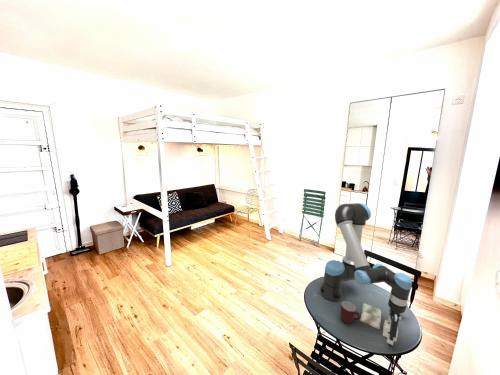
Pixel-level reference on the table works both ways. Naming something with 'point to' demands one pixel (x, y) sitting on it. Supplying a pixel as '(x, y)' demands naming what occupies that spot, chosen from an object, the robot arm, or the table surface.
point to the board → (371, 316)
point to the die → (388, 329)
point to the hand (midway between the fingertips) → (389, 334)
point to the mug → (348, 312)
